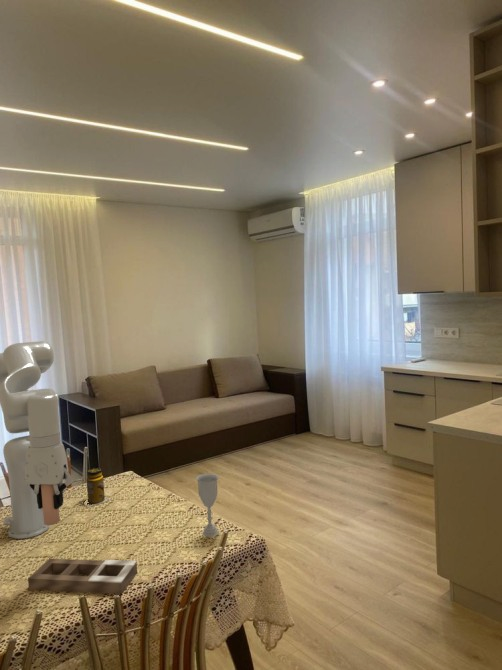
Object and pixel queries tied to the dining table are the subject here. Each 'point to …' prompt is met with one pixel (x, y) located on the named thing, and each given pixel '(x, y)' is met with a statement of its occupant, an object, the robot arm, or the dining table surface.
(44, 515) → the peg
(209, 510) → the chalice
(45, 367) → the robot arm
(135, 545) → the dining table surface
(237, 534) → the dining table surface
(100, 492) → the condiment
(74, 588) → the block with square holes
